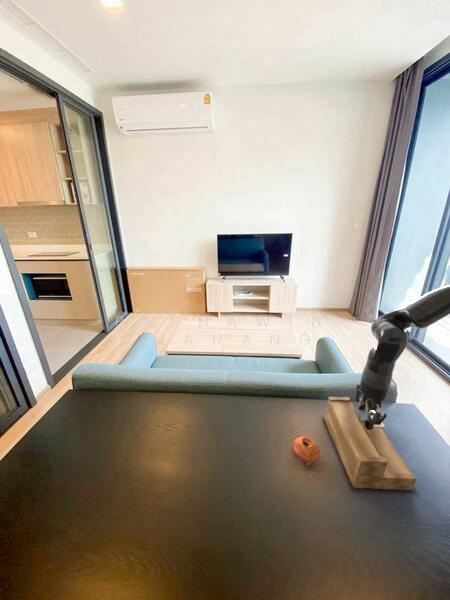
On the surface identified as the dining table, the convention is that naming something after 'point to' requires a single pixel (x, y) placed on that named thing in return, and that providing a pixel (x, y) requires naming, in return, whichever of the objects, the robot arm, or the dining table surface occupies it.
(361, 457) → the stepped wooden ledge
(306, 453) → the pot
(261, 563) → the dining table surface
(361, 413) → the block chair shape
